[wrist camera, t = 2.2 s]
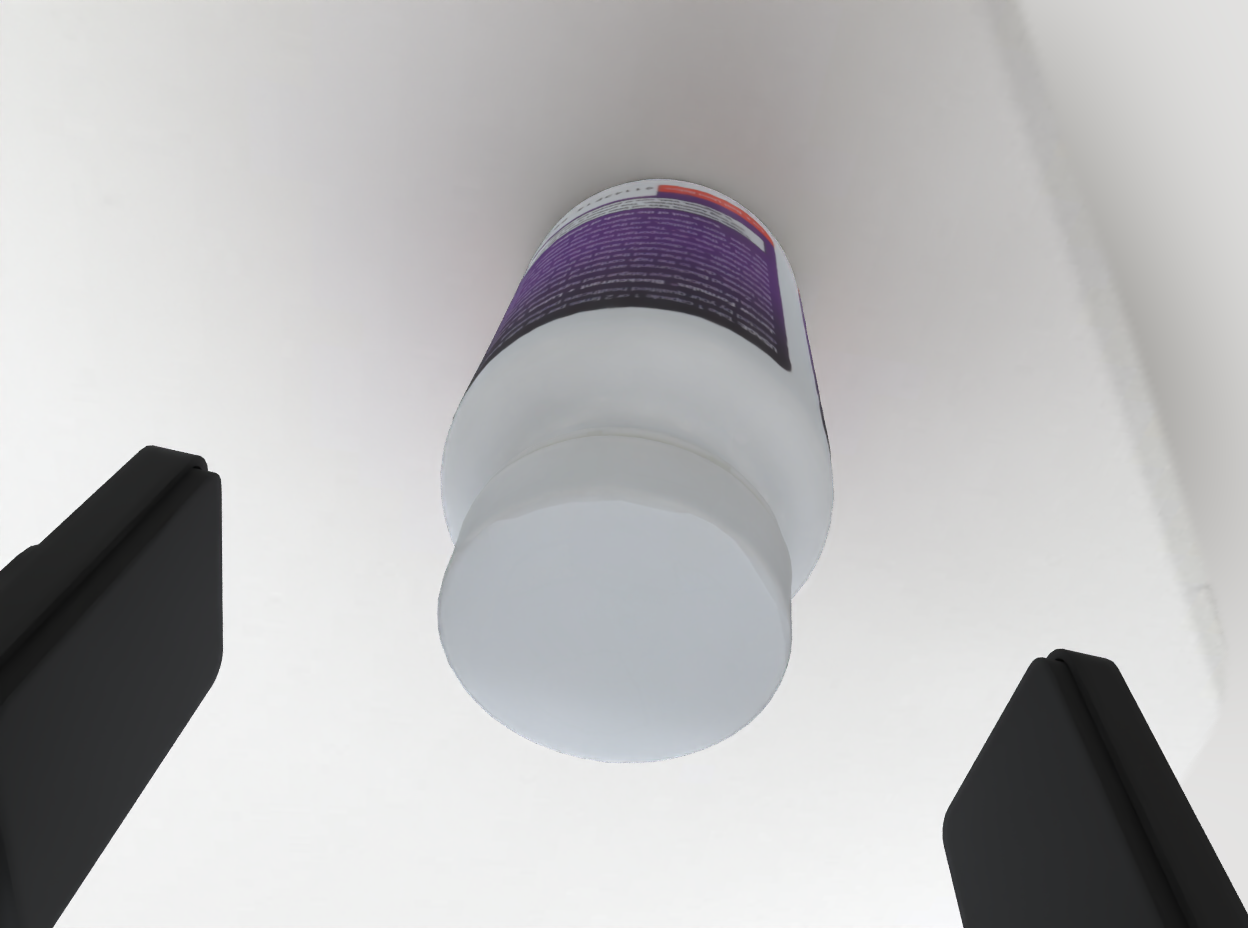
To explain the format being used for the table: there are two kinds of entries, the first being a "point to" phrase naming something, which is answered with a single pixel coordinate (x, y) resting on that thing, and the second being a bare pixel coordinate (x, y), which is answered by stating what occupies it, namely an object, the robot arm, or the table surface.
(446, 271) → the table surface
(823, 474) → the pill bottle
